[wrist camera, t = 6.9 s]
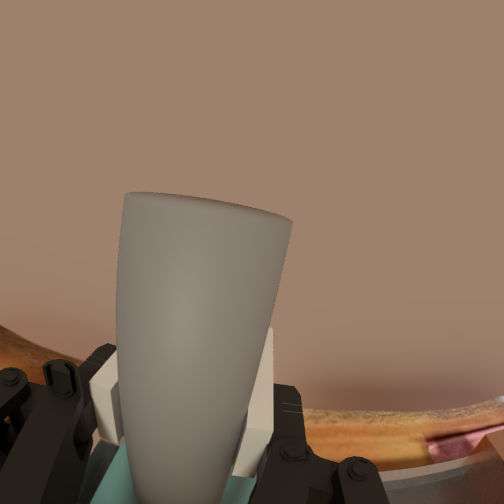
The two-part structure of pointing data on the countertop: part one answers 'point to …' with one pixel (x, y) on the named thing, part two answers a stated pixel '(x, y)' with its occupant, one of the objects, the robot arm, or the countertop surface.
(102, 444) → the rail track
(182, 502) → the carriage
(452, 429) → the countertop surface
